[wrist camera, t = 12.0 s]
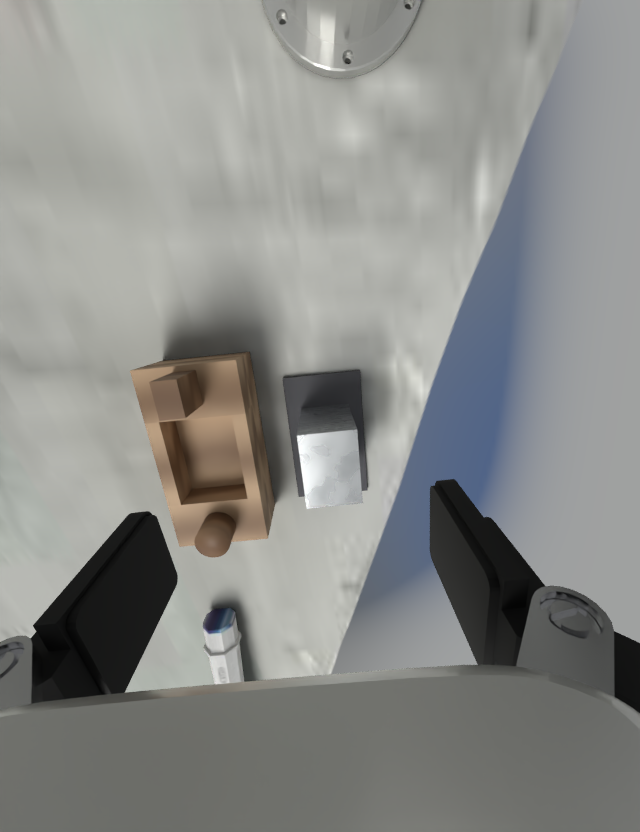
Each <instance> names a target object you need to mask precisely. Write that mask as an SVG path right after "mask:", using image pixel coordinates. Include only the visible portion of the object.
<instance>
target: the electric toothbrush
mask: <svg viewBox="0 0 640 832" xmlns="http://www.w3.org/2000/svg"><path fill="white" fill-rule="evenodd" d="M203 629H204V635H205V641H206V643H205V645H204V651H205V652H206V654H207V655H208V656H209V661H210V665H211V669H212V674H213V678H214V682H215V684H226V683H237V682H244V676H243V667H242V659H241V651H240V643H239V642H240V639H241V633H240V632H239V631H238V628H237V622H236V615H235V612H234V611H233V610H232V609H231V608H222V609H214V610H213V611H211V612H210V613H208V614H207V615H206V617H205V619H204V622H203Z"/></svg>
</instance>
